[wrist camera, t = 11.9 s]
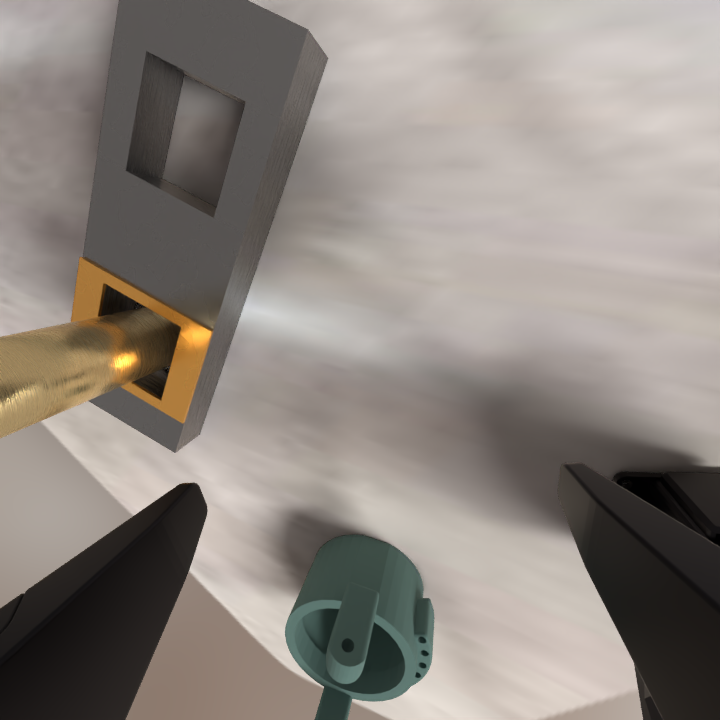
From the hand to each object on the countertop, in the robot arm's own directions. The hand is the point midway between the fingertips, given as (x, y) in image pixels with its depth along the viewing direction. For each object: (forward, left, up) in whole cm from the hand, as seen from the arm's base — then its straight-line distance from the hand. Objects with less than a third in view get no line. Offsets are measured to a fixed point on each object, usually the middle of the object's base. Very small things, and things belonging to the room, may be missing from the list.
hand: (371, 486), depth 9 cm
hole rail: (+7, +13, -12) cm, 20 cm away
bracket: (-18, +5, -13) cm, 22 cm away
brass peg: (+2, +17, -12) cm, 21 cm away
